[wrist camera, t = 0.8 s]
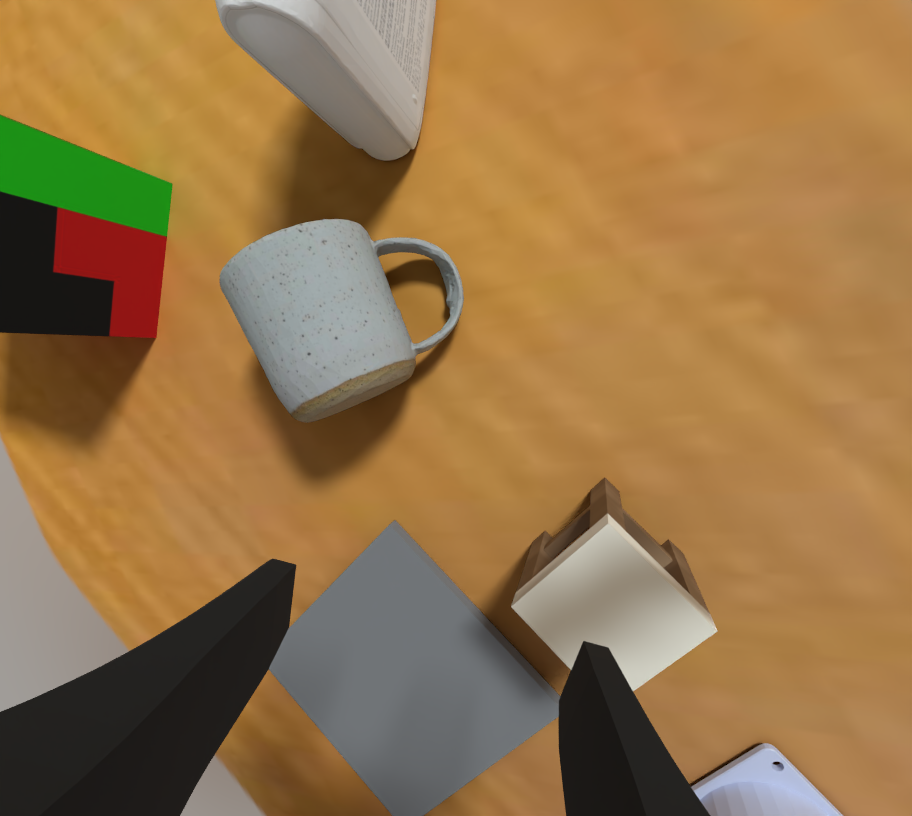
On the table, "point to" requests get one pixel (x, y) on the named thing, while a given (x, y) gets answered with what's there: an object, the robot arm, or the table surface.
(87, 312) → the puzzle toy
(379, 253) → the ceramic mug
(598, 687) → the robot arm
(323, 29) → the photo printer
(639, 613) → the stool
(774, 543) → the table surface
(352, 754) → the mat
